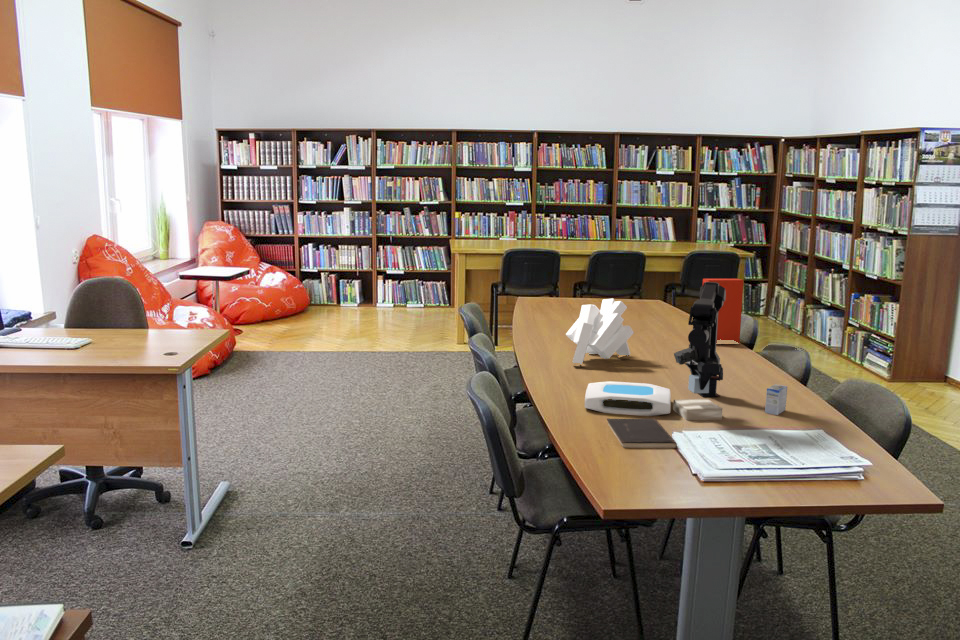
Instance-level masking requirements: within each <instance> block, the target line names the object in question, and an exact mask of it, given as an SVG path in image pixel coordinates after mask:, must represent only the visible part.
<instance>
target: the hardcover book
mask: <svg viewBox="0 0 960 640" xmlns="http://www.w3.org/2000/svg"><path fill="white" fill-rule="evenodd" d="M606 420H607V425H608V427H609V428H610V430H611V431H612V433H613V434H614V437H616V439H617V440H618V442H619V444H620V446H621V447H622V448H629V449H630V448H636V449H637V448H643V449H645V448H656V449H657V448H662V449H663V448H665V449H666V448H674V449H675V448H676V449H677V448H678V444H677V442H676V441H675V439H673V437H672V436H671V435H670V433H669V432H667V430H666V429H665V428H664V427H663V425H662V424H661V423H660V422H659V421H658V420H657V419H656V418H606Z"/></svg>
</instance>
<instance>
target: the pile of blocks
mask: <svg viewBox="0 0 960 640" xmlns="http://www.w3.org/2000/svg"><path fill="white" fill-rule="evenodd" d="M600 305H601V306H600V309H599V307H597V305H596V304H592V303H590V304H582V305H581V308H580V311H579V317H578V318H577V319H576V320H575V322H574V323H572V326H571V327H570V328H569V329H568V331H567V332H565V336H566V337H567V338H568V339H570V341H573V343H574V344H576V348H575V352H574V354H573V358H572V361H571V363H572V362H573V363H580V364H582V362H583V363H584V360H585V357H586V354H587V353H589V354H598V355H599V357H600V358H601V359H602V358H604V359H605V360H609V359H610V358H611V357H612V356H614V354H615V353H616V355H617V354H619V355H627V357H629V356H628V355H630V354H631V350H630V346H629V343H628V340H629V339H630V338H631V336H632V335H634V334H635V332H634V330H633V328H632V327H631V326H630V325H623V322H624V321H625V319H624V318H623V317H622V315H623V314H624V312H625V311H626V310H627V309H628V305H626V304H625V303H624V302H623V301H622V300H617V301H616V300H615V299H614V298H613V297H612V298H604V299H602V301H601V304H600ZM589 354H588V355H589ZM631 355H632V354H631ZM631 355H630V356H631ZM582 365H583V364H582Z"/></svg>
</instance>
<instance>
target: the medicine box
mask: <svg viewBox="0 0 960 640" xmlns="http://www.w3.org/2000/svg"><path fill="white" fill-rule="evenodd" d="M787 395H788V386H787V385H782V384H776V383H775V384H772V385H771V386H769V387H768V388H766V394H765V407H764V408H765V410H764V413H765V414H768V415H773V414H774V416H779V415H780V414H782V413H783V412H785V411H786V407H787V398H788V397H787Z"/></svg>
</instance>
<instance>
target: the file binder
mask: <svg viewBox="0 0 960 640" xmlns="http://www.w3.org/2000/svg"><path fill="white" fill-rule="evenodd" d="M704 282H717V283H719V285H720V286H722V287H724V288H725V291H726V299H725V301H724V302H723V306H722V307H721V309H720V310H719V312H718V326H717V340H720V339H721V340H734V341H736V342H738V343H739V344H740V341H741V339H740V338H741V324H742V310H743V307H742V306H743V296H744V295H743V293H744V279H740V278H702V285H703V284H704Z"/></svg>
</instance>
